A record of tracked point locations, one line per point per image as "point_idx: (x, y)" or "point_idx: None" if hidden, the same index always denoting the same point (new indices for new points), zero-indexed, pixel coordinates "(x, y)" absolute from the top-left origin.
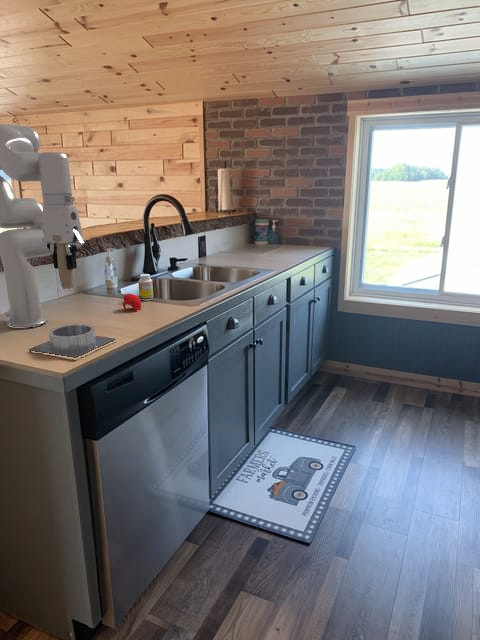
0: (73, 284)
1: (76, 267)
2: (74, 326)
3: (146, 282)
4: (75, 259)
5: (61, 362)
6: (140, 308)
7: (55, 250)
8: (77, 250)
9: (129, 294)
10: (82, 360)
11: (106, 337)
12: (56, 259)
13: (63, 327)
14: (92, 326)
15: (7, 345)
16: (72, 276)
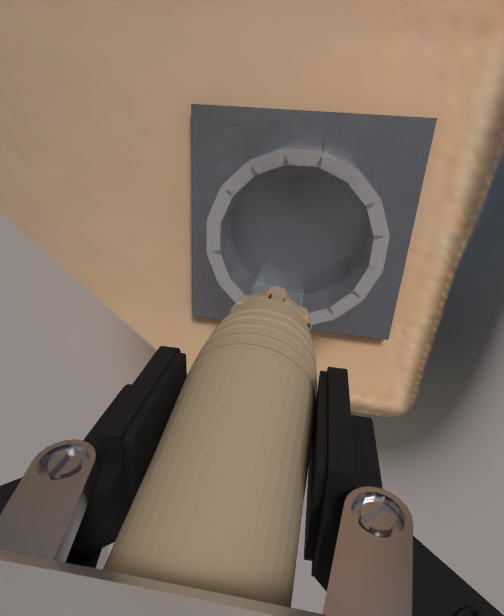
0: (309, 316)
1: (346, 374)
2: (254, 175)
3: None
4: (377, 466)
5: (348, 353)
6: None
7: (90, 542)
8: (455, 586)
9: None
10: (404, 325)
11: (386, 118)
12: None
13: (225, 212)
14: (346, 165)
15: (83, 279)
16: (315, 359)
